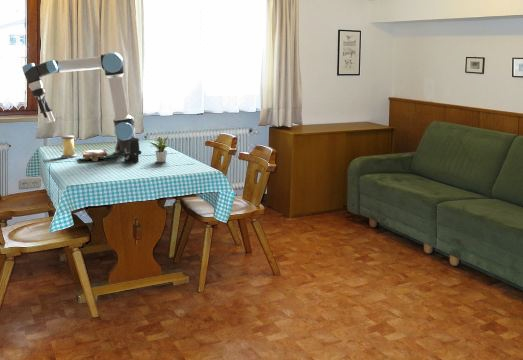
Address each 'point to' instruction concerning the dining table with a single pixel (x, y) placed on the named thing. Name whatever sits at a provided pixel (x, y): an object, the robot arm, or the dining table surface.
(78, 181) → the dining table surface
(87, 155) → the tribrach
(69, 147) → the yellow thread spool
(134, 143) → the scope
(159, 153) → the house plant
